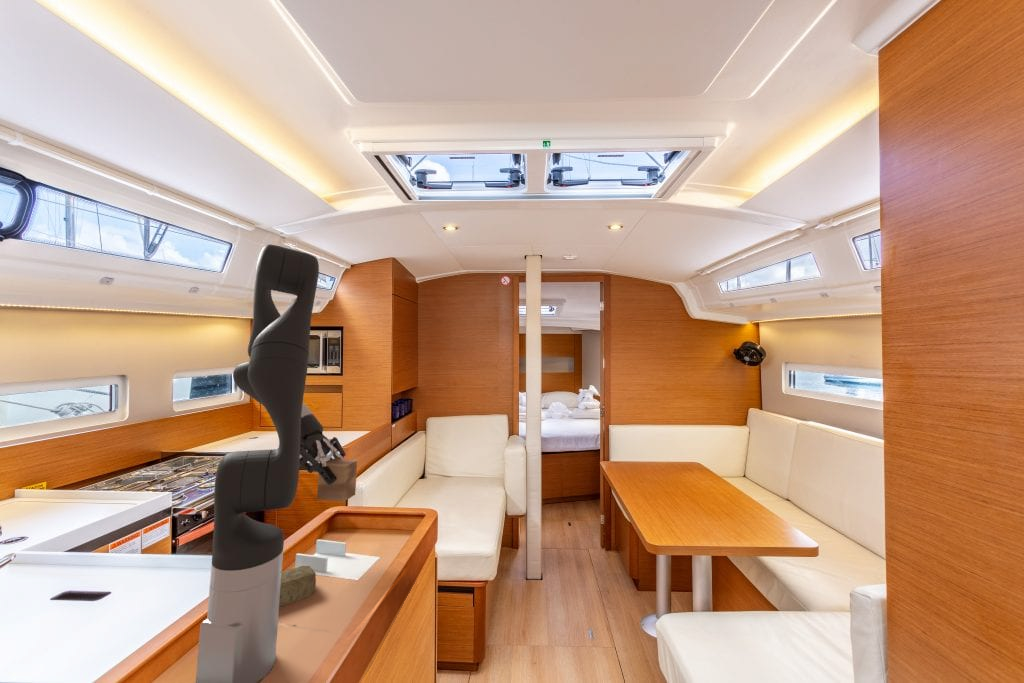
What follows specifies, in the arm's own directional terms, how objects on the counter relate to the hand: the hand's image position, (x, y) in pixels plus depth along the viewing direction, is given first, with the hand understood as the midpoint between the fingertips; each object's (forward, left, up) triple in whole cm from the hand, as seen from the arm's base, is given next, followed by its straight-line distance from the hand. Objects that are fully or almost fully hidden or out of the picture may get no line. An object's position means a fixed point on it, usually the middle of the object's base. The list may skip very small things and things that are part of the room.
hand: (340, 478), depth 90 cm
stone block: (-14, +2, -21) cm, 25 cm away
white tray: (0, +1, -20) cm, 20 cm away
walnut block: (0, +1, -4) cm, 4 cm away
